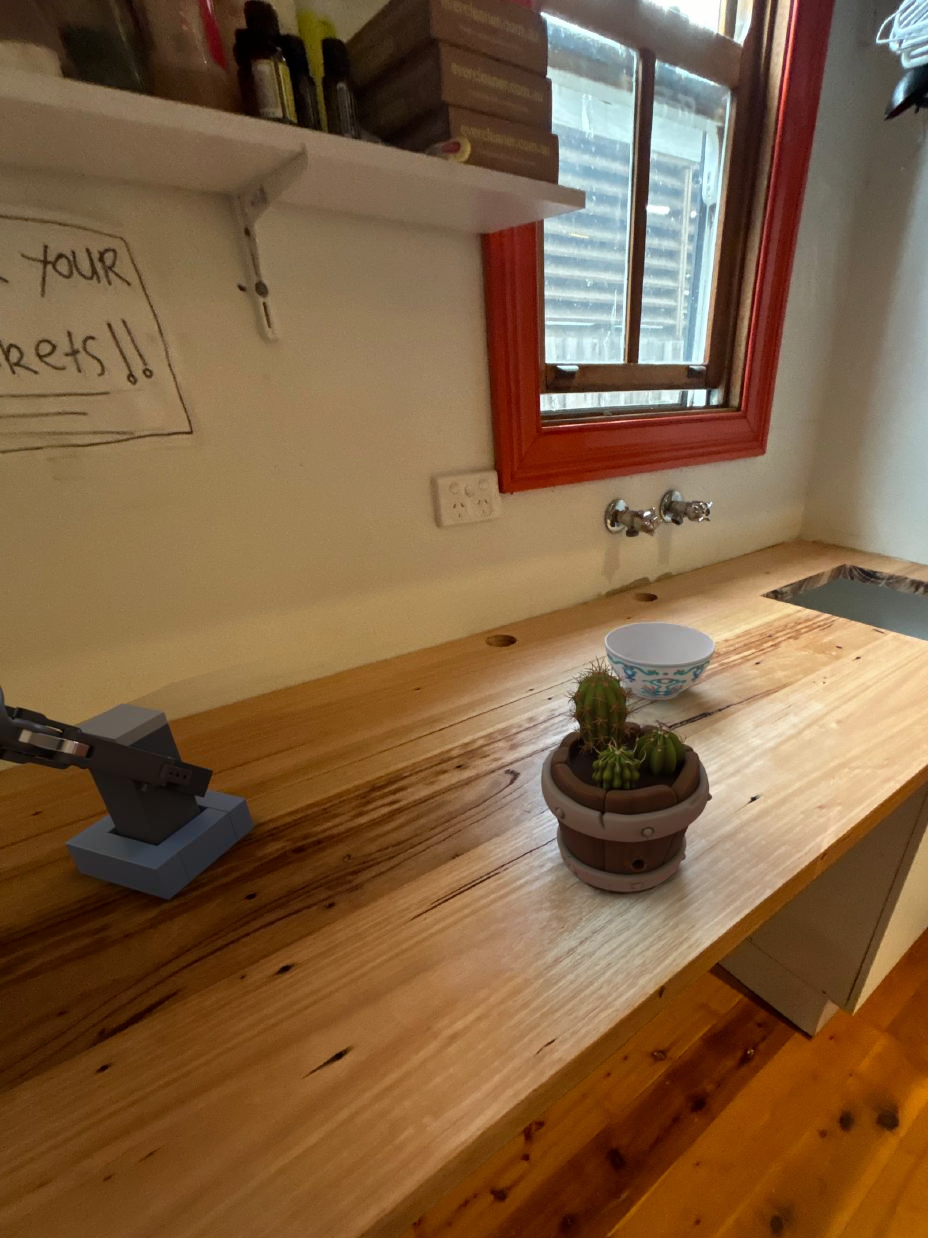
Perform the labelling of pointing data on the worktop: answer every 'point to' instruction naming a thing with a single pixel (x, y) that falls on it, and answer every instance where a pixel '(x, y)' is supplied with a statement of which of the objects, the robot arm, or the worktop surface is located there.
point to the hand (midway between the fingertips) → (182, 777)
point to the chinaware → (658, 657)
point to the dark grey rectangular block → (122, 796)
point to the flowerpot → (621, 791)
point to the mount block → (163, 848)
